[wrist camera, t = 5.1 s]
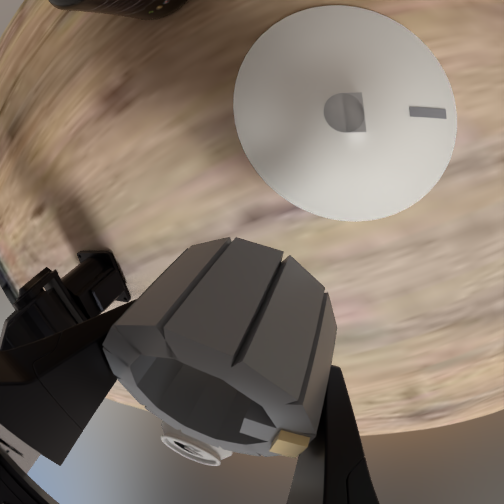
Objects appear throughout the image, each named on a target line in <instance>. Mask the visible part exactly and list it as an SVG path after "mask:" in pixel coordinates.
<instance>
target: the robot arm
mask: <svg viewBox="0 0 504 504" xmlns="http://www.w3.org/2000/svg"><path fill="white" fill-rule="evenodd" d="M77 256H78V258H79V260H80V264H79V265H78V266H76V267H75V268H74V269H73V270H71V271H70V272H69V273H68V274H66V275H65V276H64V277H63V278H61V279H60V277H59V275H58V272H57V271H56V269H55V270H54V271H51V270H50V269H49V268H47V267H46V268H45V269H43V270H42V271H41V272H40V273H38V274H37V275H36V276H35V277H33V278H32V279H31V280H30V281H29V282H27V283H26V284H25V285H24V286H23V287H22V288H20V289H19V297H18V298H17V301H16V302H15V303H14V304H13V306H14V307H15V309H16V310H15V311H14V312H13V313H12V314H11V315H10V316H9V317H8V318H7V319H6V320H5V322H4V326H3V329H2V334H1V337H0V504H59V503H58V502H57V501H55V500H54V499H53V498H52V497H51V496H50V495H48V494H47V493H46V492H45V491H44V490H43V489H42V488H41V487H40V486H39V485H37V484H36V483H35V482H34V481H33V480H32V479H31V478H30V477H29V476H28V475H27V472H28V471H29V470H30V468H31V467H32V466H33V464H34V463H35V461H36V460H37V459H38V457H39V456H40V454H42V455H43V456H45V457H46V458H48V459H50V460H51V461H53V462H54V463H56V464H58V465H60V466H61V464H62V463H63V461H64V460H65V458H66V457H67V455H68V453H69V452H70V450H71V449H72V447H73V446H74V444H75V442H76V441H77V439H78V438H79V436H80V435H81V433H82V432H83V430H84V428H85V427H86V425H87V424H88V422H89V421H90V419H91V418H92V416H93V414H94V413H95V412H96V410H97V409H98V407H99V406H100V404H101V403H102V401H103V400H104V398H105V397H106V395H107V394H108V392H109V391H110V389H111V388H112V386H113V385H114V383H115V382H116V380H117V378H116V377H117V376H116V375H114V374H113V372H112V369H111V367H110V365H109V363H108V360H107V358H106V355H105V353H104V351H103V347H104V346H103V345H102V344H103V342H104V340H105V338H106V336H107V334H108V332H109V331H110V329H111V327H112V325H113V324H114V323H115V322H116V321H117V320H118V319H119V318H120V317H121V316H122V315H123V314H124V313H125V311H126V310H127V309H128V308H129V307H130V306H131V305H132V304H133V303H134V302H135V301H136V300H137V299H136V300H133V301H131V302H129V301H130V299H131V298H130V296H129V293H128V291H127V289H126V287H125V284H124V282H123V280H122V277H121V275H120V273H119V270H118V268H117V265H116V263H115V260H114V258H113V255H112V254H111V253H110V252H109V251H80V252H78V253H77ZM43 287H44V288H45V290H46V291H44V289H43ZM115 300H117V301H122V302H129V303H126V304H124V305H122V306H119V307H117V308H115V309H112V310H110V311H108V312H105V313H103V314H101V313H102V312H103V311H105V310H106V309H107V308H108V307H109V306H110V305H111V304H112V303H113V302H114V301H115ZM100 314H101V315H100ZM364 456H365V455H364V450H363V447H362V443H361V439H360V435H359V431H358V427H357V424H356V420H355V416H354V413H353V409H352V405H351V402H350V398H349V395H348V391H347V388H346V384H345V381H344V378H343V374H342V371H341V368H340V367H338V366H334V365H331V368H330V374H329V379H328V384H327V389H326V393H325V398H324V403H323V408H322V412H321V417H320V421H319V425H318V429H317V433H316V437H315V438H314V439H313V440H312V441H311V442H310V443H309V444H308V447H307V448H306V449H305V450H304V451H303V452H302V453H301V454H299V457H298V462H297V465H296V469H295V474H294V477H293V482H292V485H291V489H290V493H289V496H288V500H287V504H379V501H378V498H377V496H376V493H375V490H374V487H373V484H372V481H371V478H370V474H369V470H368V467H367V462H366V458H365V457H364Z"/></svg>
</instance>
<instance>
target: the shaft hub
mask: <svg viewBox="0 0 504 504" xmlns="http://www.w3.org/2000/svg"><path fill="white" fill-rule="evenodd" d="M233 111H234V119H235V125H236V129H237V133H238V137H239V140H240V142H241V145H242V147H243V150H244V152H245V154H246V156H247V157H248V159H249V161H250V163H251V164H252V166H253V167H254V169H255V170H256V172H257V173H258V174H259V175H260V176H261V178H262V179H263V180H264V181H265V182H266V183H267V184H268V185H269V186H270V187H271V188H272V189H273V190H274V191H275V192H276V193H278V194H279V195H280V196H282V197H283V198H284V199H286V200H287V201H289V202H290V203H292V204H294V205H296V206H297V207H299V208H301V209H303V210H305V211H308V212H310V213H312V214H315V215H318V216H322V217H325V218H329V219H335V220H340V221H355V222H356V221H370V220H375V219H380V218H384V217H387V216H390V215H393V214H396V213H398V212H400V211H402V210H405V209H407V208H408V207H410V206H411V205H413V204H415V203H416V202H418V201H419V200H420V199H421V198H422V197H424V196H425V195H426V194H427V193H428V192H429V191H430V190H431V189H432V188H433V187H434V185H435V184H436V183H437V182H438V181H439V179H440V177H441V176H442V174H443V173H444V171H445V169H446V167H447V165H448V163H449V161H450V158H451V156H452V152H453V149H454V145H455V140H456V133H457V112H456V105H455V99H454V96H453V92H452V89H451V85H450V83H449V81H448V78H447V76H446V74H445V72H444V70H443V68H442V66H441V65H440V63H439V62H438V60H437V58H436V57H435V56H434V54H433V53H432V52H431V51H430V49H429V48H428V47H427V46H426V45H425V44H424V43H423V42H422V41H421V40H420V39H419V38H418V37H417V36H416V35H415V34H413V33H412V32H411V31H410V30H408V29H407V28H405V27H404V26H403V25H401V24H399V23H398V22H396V21H394V20H392V19H391V18H389V17H386V16H384V15H382V14H379V13H377V12H374V11H370V10H367V9H363V8H359V7H352V6H344V5H329V6H320V7H314V8H309V9H306V10H303V11H299V12H297V13H294V14H292V15H290V16H288V17H285V18H284V19H282V20H280V21H279V22H277V23H276V24H274V25H273V26H271V27H270V28H269V29H268V30H267V31H266V32H264V33H263V34H262V35H261V36H260V37H259V38H258V40H257V41H256V42H255V43H254V44H253V45H252V47H251V49H250V50H249V52H248V53H247V55H246V56H245V58H244V60H243V63H242V65H241V67H240V69H239V72H238V76H237V79H236V83H235V89H234V99H233Z"/></svg>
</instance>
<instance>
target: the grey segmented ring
mask: <svg viewBox="0 0 504 504" xmlns="http://www.w3.org/2000/svg"><path fill="white" fill-rule="evenodd" d="M283 252H284V251H280V250H277V249H274V248H270V247H267V246H264V245H260V244H257V243H254V242H250V241H247V240H244V239H240V238H237V237H236V238H235V239H234V240H233V241H231V239H230V237H227V238H223V239H218V240H214V241H209V242H205V243H201V244H196V245H192V246H191V247H190V248H189V249H188V248H187V249H186V250H185V251H184V252H183V253H182V254H181V255H180V256H179V257H178V258H177V259H176V260H175V261H174V262H173V263H172V264H171V265H170V266H169V267H168V268H167V269H166V270H165V271H164V272H163V273H162V274H161V275H160V276H159V277H158V278H157V279H156V280H155V281H154V282H153V283H152V284H151V285H150V286H149V287H148V288H147V289H146V290H145V292H144V293H143V294H142V295H141V296H140V297H139V298H138V299H137V300H136V301H135V302H134V303H133V304H132V305H131V306H130V307H129V308H128V309H127V310H126V311H125V313H124V314H123V315H122V316H121V317H120V318H119V319H118V320H117V321H116V322H115V323H114V324H113V325H112V327H111V329H110V331H109V332H108V334H107V336H106V338H105V340H104V342H103V344H102V345H103V346H104V347H103V351H104V353H105V355H106V358H107V360H108V363H109V365H110V367H111V369H112V372H113V374H114V375H116V376H117V377H116V378H117V379H118V381H119V382H120V383H121V384H122V385H123V386H124V387H125V388H126V389H127V391H128V392H129V393H130V394H131V395H132V396H133V397H134V398H135V399H136V400H137V401H138V402H139V403H140V404H142V405H145V407H144V408H146V409H147V410H148V411H150V412H151V413H153V414H154V415H156V416H157V417H158V418H160V419H161V420H163V421H164V422H166V423H167V424H169V425H170V426H172V427H173V428H175V429H176V430H179V429H181V431H182V433H184V434H186V435H188V436H191V437H193V438H195V439H198V440H200V441H202V442H205V443H207V444H210V445H212V446H215V447H217V448H219V446H220V447H221V448H222V449H224V450H228V451H233V452H238V453H243V454H249V455H255V456H261V455H263V456H265V457H267V456H277V455H284V456H288V457H292V458H296V457H297V456H298V455H299V454H301V453H302V452H303V451H304V450H305V449H306V448H307V447H308V444H309V443H310V442H311V441H312V440H313V439H314V438H315V437H316V433H317V429H318V425H319V421H320V417H321V412H322V408H323V403H324V398H325V393H326V389H327V384H328V379H329V374H330V368H331V363H332V357H333V351H334V345H335V339H336V331H337V325H336V321H335V317H334V313H333V309H332V305H331V301H330V298H329V294H328V293H324V290H325V287H324V286H323V285H322V284H321V283H320V282H319V281H317V280H316V279H315V278H314V277H313V276H312V275H311V274H310V273H309V272H308V271H307V270H306V269H305V268H303V267H302V266H301V265H300V264H299V263H298V262H297V261H296V260H295V259H294V258H293V257H291V256H290V255H289V256H288V257H287V258H286V259H285V260H284V261H282V257H283ZM281 261H282V262H281Z"/></svg>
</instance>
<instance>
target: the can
mask: <svg viewBox="0 0 504 504" xmlns="http://www.w3.org/2000/svg"><path fill="white" fill-rule="evenodd" d="M162 428H163V431H164V435H162V436H161V440H162V441H163V443H165V444H166V445H167V446H168V447H169V448H171V449H172V450H174V451H175V452H177V453H179V454H180V455H182V456H184V457H187V458H189V459H191V460H194V461H196V462H199V463H202V464H206V465H210V466H218V465H220V464H221V463H220V460H221V459H224V458H227V457H228V456H231V455H232V453H233V451H228V450H224V449H222V448H221V447H220V446H219V448H217V447H215V446H212V445H210V444H207V443H205V442H202V441H200V440H198V439H195V438H193V437H191V436H188V435H186V434H184V433H182V431H181V429H179V430H176V429H175V428H173V427H172V426H170V425H169V424H167V423H166V422H164V421H162Z"/></svg>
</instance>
